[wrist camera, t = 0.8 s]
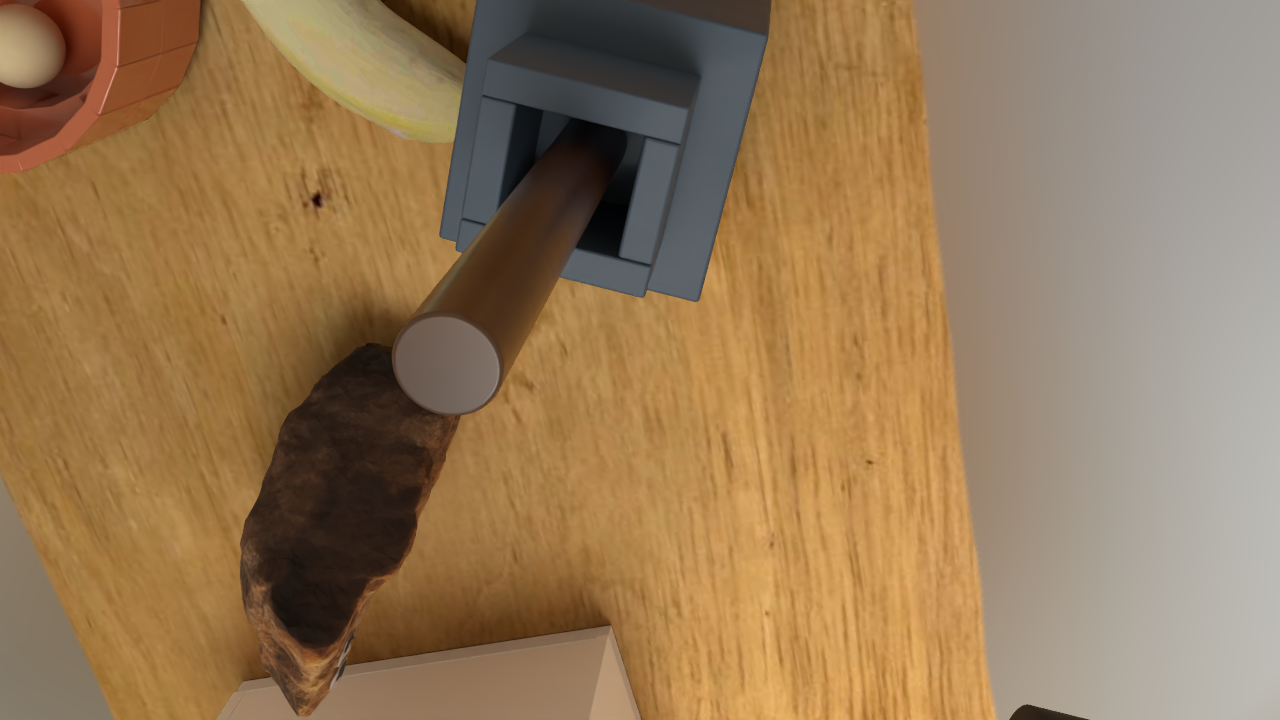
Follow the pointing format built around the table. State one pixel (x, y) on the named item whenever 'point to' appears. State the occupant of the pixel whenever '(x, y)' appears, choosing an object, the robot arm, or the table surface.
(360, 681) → the white lidded box
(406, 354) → the stick
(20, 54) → the ball
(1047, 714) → the robot arm
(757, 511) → the table surface
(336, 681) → the decorative rock
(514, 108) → the holder
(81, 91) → the bowl
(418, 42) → the fruit
